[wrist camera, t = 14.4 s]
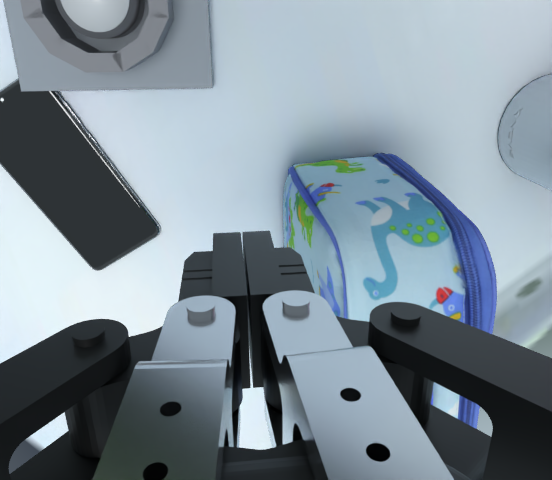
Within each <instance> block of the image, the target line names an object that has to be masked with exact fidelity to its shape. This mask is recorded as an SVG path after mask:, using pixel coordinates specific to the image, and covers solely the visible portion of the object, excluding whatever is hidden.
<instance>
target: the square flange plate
mask: <svg viewBox="0 0 552 480" xmlns="http://www.w3.org/2000/svg"><path fill="white" fill-rule="evenodd" d="M3 2H4V7H5V12H6V17H7V22H8V27H9V32H10V37H11V42H12V47H13V52H14V57H15V62H16V67H17V72H18V77H19V83H20V88H21V91H73V90H129V89H186V88H213V82H212V63H211V45H210V26H209V8H208V0H145V9H144V14H143V17H142V20H141V22H140V24H139V25H138V26H137V28H136V29H135V30H134V31H133V32H131V33H130V34H128V35H126V36H124V37H120V38H112V39H96V38H90V37H87V36H85V35H83V34H80V33H79V32H77V31H76V30H74V29H73V28H72V27H71V26H70V25H69V24H68V23H67V22H66V21H65V20H64V19H63V17H62V15H61V14H60V12H59V10H58V8H57V5H56V2H55V0H3Z"/></svg>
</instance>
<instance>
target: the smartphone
mask: <svg viewBox="0 0 552 480" xmlns="http://www.w3.org/2000/svg"><path fill="white" fill-rule="evenodd" d="M0 164H1V165H2V167H3V168H4V169H5V170H6V171H7V172H8V173H9V175H10V176H11V177H12V178H13V179H14V180H15V181H16V183H17V184H18V185H19V186H20V187H21V188H22V189H23V191H24V192H25V193H26V194H27V195H28V196H29V197H30V199H31V200H32V201H33V202H34V203H35V204H36V205H37V206H38V208H39V209H40V210H41V211H42V212H43V213H44V214H45V216H46V217H47V218H48V219H49V220H50V221H51V222H52V224H53V225H54V226H55V227H56V228H57V229H58V230H59V232H60V233H61V234H62V235H63V236H64V237H65V238H66V240H67V241H68V242H69V243H70V244H71V245H72V246H73V248H74V249H75V250H76V251H77V252H78V253H79V254H80V255H81V257H82V258H83V259H84V260H85V261H86V262H87V263H88V265H89V266H90V267H91V268H92V269H94V270H102V269H104V268H106V267H108V266H109V265H111V264H113V263H114V262H116V261H117V260H119V259H121V258H122V257H124V256H126V255H127V254H129V253H131V252H132V251H134V250H136V249H137V248H139V247H140V246H142V245H144V244H145V243H147V242H149V241H150V240H152V239H154V238H155V237H157V236H158V235H159V234H160V231H161V227H160V225H159V224H158V223H157V221H156V220H155V219H154V217H153V216H152V215H151V213H150V212H149V211H148V210H147V208H146V207H145V206H144V204H143V203H142V202H141V200H140V199H139V198H138V197H137V195H136V194H135V193H134V191H133V190H132V189H131V187H130V186H129V185H128V184H127V182H126V181H125V180H124V178H123V177H122V176H121V174H120V173H119V172H118V171H117V169H116V168H115V167H114V165H113V164H112V163H111V161H110V160H109V159H108V158H107V156H106V155H105V154H104V152H103V151H102V150H101V148H100V147H99V146H98V144H97V142H96V141H95V140H94V138H93V137H92V136H91V134H90V133H88V131H87V130H86V129H85V127H84V126H83V125H82V123H81V121H80V120H79V119H78V118H77V116H76V115H75V114H74V112H73V111H72V110H71V108H70V107H69V106H68V105H67V103H66V102H65V101H64V100H63V99H62V98H61V96H60V95H59V94H58V92H57V91H21V88H20V83H19V78H18V79H17V80H15V81H14V82H12V83H11V84H9V85H8V86H6V87H5V88H3V89H2V90H0Z"/></svg>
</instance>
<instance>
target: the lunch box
mask: <svg viewBox="0 0 552 480" xmlns="http://www.w3.org/2000/svg"><path fill="white" fill-rule="evenodd" d="M283 226H284V248H286V247H290V248H292V249H293V250H295V251H296V252H297V253H299V254H300V255H301V257H302V259H303V262H304V266H305V268H306V270H307V274H308V276H309V278H310V281H311V284H312V286H313V289H314V292H315V294H317V295H319V296H321V297H323V298H324V299H325V300H326V301H327V302H328V303H329V305H330V307H331V309H332V311H333V312H334V314H335V315H336V316H338V317H342V318H346V319H351V320H359V321H367V322H369V318H370V313H371V311H372V310H373V309H374V308H375V307H377V306H379V305H381V304H384V303H389V302H407V303H413V304H417V305H420V306H423V307H426V308H428V309H430V310H433V311H435V312H438V313H440V314H443V315H445V316H448V317H450V318H453V319H455V320H458V321H460V322H463V323H465V324H468V325H470V326H473V327H475V328H478V329H480V330H483V331H485V332H488V333H490V334H492V332H493V325H494V318H495V312H496V301H497V287H496V274H495V269H494V265H493V262H492V258H491V255H490V252H489V250H488V247H487V245H486V242H485V240H484V238H483V236H482V234H481V233H480V231H479V229H478V228H477V227H476V225H475V224H474V223H473V222H472V221H471V220H470V219H469V218H467V217H466V216H465V215H464V214H463V213H462V212H461V211H460V210H459V209H457V208H456V206H455V205H454V204H453V203H452V202H451V201H450V200H448V199H447V198H446V197H445V196H444V195H443V194H442V193H441V192H440V191H439V190H437V189H436V188H435V187H434V186H433V185H432V184H430V183H429V182H428V181H427V180H425V179H424V178H423V177H422V176H421V175H420V174H419V173H418V172H416V171H415V170H414V169H413V168H412V167H411V166H410V165H408V164H407V163H406V162H404V161H403V160H402V159H400V158H399V157H398V156H396V155H393V154H384V153H377V154H375V155H373V157H357V158H348V159H336V160H327V161H321V162H316V163H303V164H294V165H293V166H292V167H290V168H289V169H288V178H287V180H286V183H285V187H284V196H283ZM431 405H433V406H435V407H437V408H439V409H441V410H442V411H444V412H446V413H448V414H450V415H452V416H453V417H455V418H457V419H459V420H461V421H463V422H464V423H466V424H468V425H470V426H472V427H474V428H475V429H477V421H478V414H479V408H480V406H479V405H477V404H476V403H474V402H472V401H470V400H468V399H466V398H464V397H462V396H460V395H458V394H456V393H454V392H452V391H450V390H448V389H446V388H444V387H442V386H441V385H439V384H437V383H435V382H434V385H433V392H432V399H431Z"/></svg>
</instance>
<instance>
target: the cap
mask: <svg viewBox="0 0 552 480" xmlns="http://www.w3.org/2000/svg"><path fill="white" fill-rule="evenodd" d="M55 2H56V5H57V8H58V10H59V12H60V14H61V15H62V17H63V19H64V20H65V21H66V22H67V23H68V24H69V25H70V26H71V27H72V28H73V29H74V30H76V31H77V32H79V33H80V34H83V35H85V36H87V37H90V38H96V39H112V38H120V37H124V36H126V35H128V34H130V33H131V32H133V31H134V30H135V29H136V28H137V26H138V25H139V24H140V22H141V20H142V17H143V14H144V9H145V0H55Z"/></svg>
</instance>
